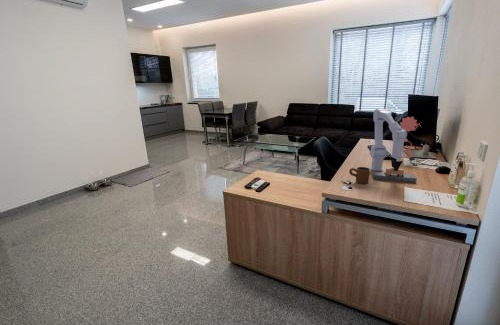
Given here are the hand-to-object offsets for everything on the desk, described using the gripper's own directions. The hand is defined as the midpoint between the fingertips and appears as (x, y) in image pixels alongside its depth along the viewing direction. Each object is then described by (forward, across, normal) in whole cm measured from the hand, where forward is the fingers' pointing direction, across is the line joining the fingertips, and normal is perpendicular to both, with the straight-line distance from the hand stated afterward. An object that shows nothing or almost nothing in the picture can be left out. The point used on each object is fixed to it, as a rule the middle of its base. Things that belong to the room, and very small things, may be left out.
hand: (394, 169), depth 163 cm
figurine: (+7, +60, -17) cm, 63 cm away
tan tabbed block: (+7, 0, 0) cm, 7 cm away
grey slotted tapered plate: (+7, 0, 0) cm, 7 cm away
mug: (+7, -12, +22) cm, 26 cm away
